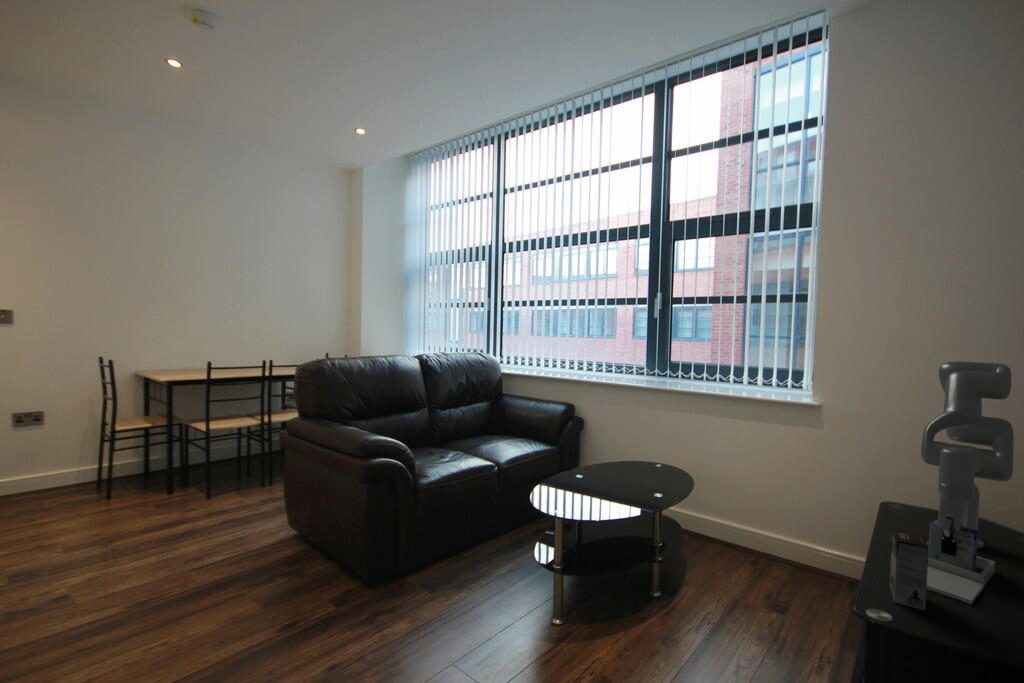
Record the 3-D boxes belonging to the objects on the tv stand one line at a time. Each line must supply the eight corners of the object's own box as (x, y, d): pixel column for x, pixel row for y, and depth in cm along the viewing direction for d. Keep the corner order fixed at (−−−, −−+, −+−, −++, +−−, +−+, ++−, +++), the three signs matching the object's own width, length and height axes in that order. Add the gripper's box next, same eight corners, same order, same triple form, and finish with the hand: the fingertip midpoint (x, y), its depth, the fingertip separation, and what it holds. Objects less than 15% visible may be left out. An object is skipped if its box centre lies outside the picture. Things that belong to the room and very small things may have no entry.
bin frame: (924, 550, 149) (925, 541, 149) (994, 571, 137) (995, 561, 137) (910, 563, 141) (910, 553, 141) (983, 586, 128) (983, 575, 128)
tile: (917, 566, 139) (917, 562, 139) (983, 587, 128) (984, 584, 128) (901, 580, 131) (902, 576, 131) (971, 604, 119) (971, 600, 119)
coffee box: (888, 587, 127) (891, 527, 127) (919, 594, 123) (922, 533, 123) (893, 603, 119) (896, 539, 119) (927, 611, 116) (930, 546, 115)
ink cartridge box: (977, 572, 137) (979, 522, 136) (973, 577, 133) (975, 526, 133) (932, 558, 144) (934, 511, 144) (927, 563, 141) (929, 515, 141)
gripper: (946, 482, 146) (943, 538, 147) (930, 492, 136) (927, 552, 137) (980, 489, 140) (977, 548, 141) (965, 500, 130) (962, 563, 131)
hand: (952, 550), depth 139 cm, fingers open, 8 cm apart
